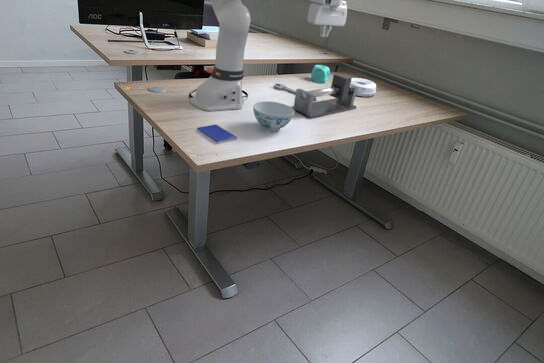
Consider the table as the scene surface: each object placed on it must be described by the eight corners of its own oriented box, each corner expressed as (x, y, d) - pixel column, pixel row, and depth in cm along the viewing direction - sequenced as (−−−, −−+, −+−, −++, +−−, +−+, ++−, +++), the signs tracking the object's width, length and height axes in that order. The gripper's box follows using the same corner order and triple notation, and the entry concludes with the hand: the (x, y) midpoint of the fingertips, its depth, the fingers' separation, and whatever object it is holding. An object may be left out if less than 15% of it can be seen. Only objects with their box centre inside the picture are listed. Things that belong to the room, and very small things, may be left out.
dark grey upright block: (341, 100, 168) (346, 78, 163) (329, 95, 172) (333, 74, 167) (346, 99, 170) (351, 78, 166) (334, 94, 174) (339, 73, 170)
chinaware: (243, 122, 141) (245, 103, 137) (275, 118, 149) (278, 100, 145) (265, 138, 131) (268, 117, 127) (299, 133, 139) (302, 113, 135)
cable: (373, 91, 207) (376, 80, 204) (375, 100, 192) (378, 88, 189) (342, 85, 209) (344, 74, 206) (341, 94, 194) (344, 82, 191)
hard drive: (237, 136, 127) (216, 124, 134) (217, 141, 122) (196, 127, 129) (237, 141, 127) (216, 128, 135) (217, 145, 122) (196, 131, 130)
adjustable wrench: (317, 101, 178) (318, 98, 177) (309, 103, 174) (309, 100, 173) (278, 86, 192) (279, 82, 191) (270, 87, 188) (270, 84, 187)
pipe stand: (310, 119, 154) (314, 96, 149) (289, 109, 161) (293, 87, 156) (355, 108, 175) (361, 88, 170) (335, 100, 182) (340, 80, 177)
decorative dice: (328, 81, 212) (330, 67, 208) (323, 84, 205) (326, 69, 201) (314, 78, 214) (317, 64, 210) (310, 81, 208) (312, 66, 204)
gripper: (341, 0, 156) (333, 35, 163) (308, -4, 143) (301, 34, 149) (353, 3, 152) (345, 38, 159) (321, -2, 139) (313, 38, 146)
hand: (323, 36), depth 154 cm, fingers closed
